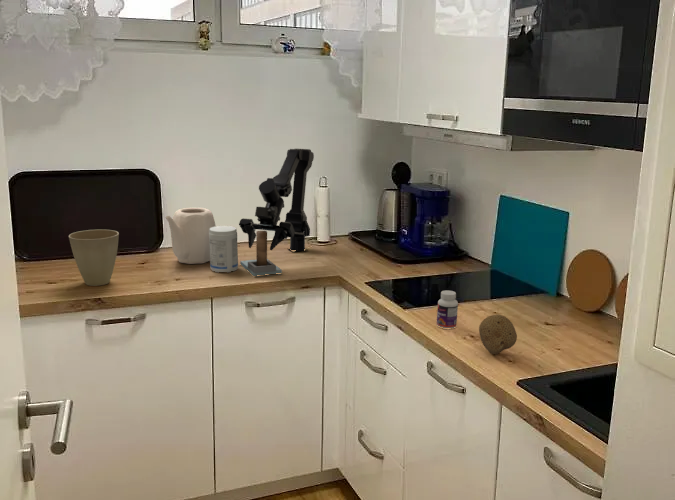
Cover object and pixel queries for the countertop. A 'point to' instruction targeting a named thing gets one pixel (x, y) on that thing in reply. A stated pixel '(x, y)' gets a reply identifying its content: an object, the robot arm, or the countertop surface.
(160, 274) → the countertop surface
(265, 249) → the stool leg
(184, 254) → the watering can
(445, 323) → the pill bottle
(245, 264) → the seat board
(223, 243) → the supplement tub
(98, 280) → the plant pot
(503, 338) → the natural sponge
